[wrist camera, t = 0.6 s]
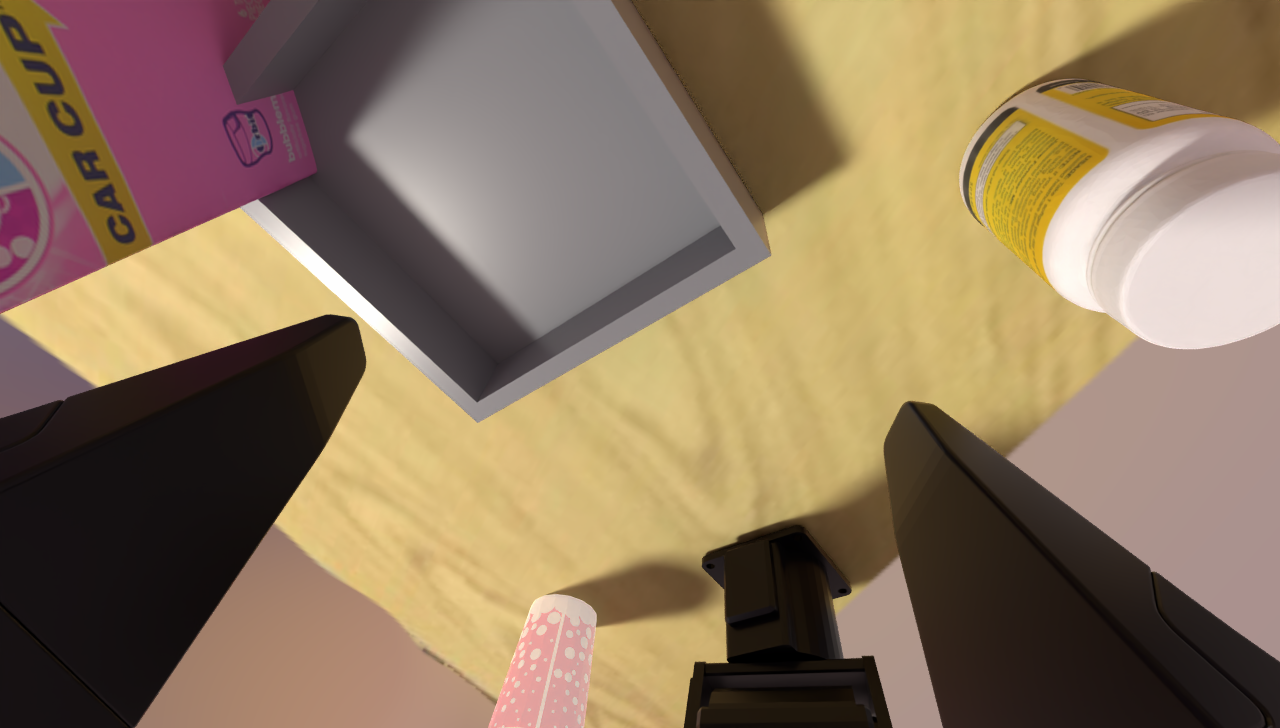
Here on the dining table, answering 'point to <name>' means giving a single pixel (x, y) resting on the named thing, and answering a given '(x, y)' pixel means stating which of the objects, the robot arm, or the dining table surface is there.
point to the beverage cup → (549, 667)
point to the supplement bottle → (1135, 208)
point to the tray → (496, 180)
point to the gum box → (126, 132)
